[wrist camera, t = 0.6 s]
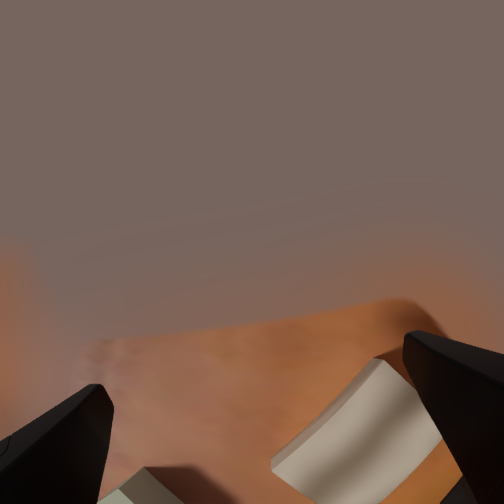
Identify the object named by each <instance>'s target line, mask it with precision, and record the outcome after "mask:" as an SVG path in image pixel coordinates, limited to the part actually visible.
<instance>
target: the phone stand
mask: <svg viewBox="0 0 504 504" xmlns="http://www.w3.org/2000/svg"><path fill="white" fill-rule="evenodd" d="M440 504H478V503H477V501H476V499H475V497H474V495H473V493H472V491H471V489H470V487H469V485H468V483H467V481H466V480H465V478H464V476H462V477H461V478H460V480H459V481H458V482H457V483H456V485H455V486H454V487H453V488H452V489H451V491H450V492H449V493H448V494H447V495H446V496H445V497H444V499H443V500H442V501H441V502H440Z"/></svg>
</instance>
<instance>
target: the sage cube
mask: <svg viewBox="0 0 504 504" xmlns="http://www.w3.org/2000/svg"><path fill="white" fill-rule="evenodd" d="M97 504H184V503H183V502H182V501H181V500H180V499H178V498H177V497H176V496H175V495H174V494H173V493H171V492H170V491H169V490H168V489H167V488H166V487H165V486H163V485H162V484H161V483H160V482H159V481H158V480H157V479H156V478H155V477H154V476H153V475H152V474H151V473H150V472H148V471H147V470H146V469H145V468H144V467H143V468H141V469H140V470H139V471H137V472H136V473H135V474H133V475H132V476H130V477H129V478H128V479H126V480H125V481H124V482H122V483H121V484H119V485H118V486H117V487H115V488H114V489H112V490H111V491H110V492H109V493H107V494H106V495H105V496H104V497H102V498H101V499H100V500H99V501H97Z"/></svg>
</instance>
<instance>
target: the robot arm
mask: <svg viewBox="0 0 504 504" xmlns="http://www.w3.org/2000/svg"><path fill="white" fill-rule="evenodd" d="M402 358H403V363H404V365H405V367H406V370H407V372H408V374H409V376H410V378H411V380H412V382H413V385H414V387H415V389H416V391H417V393H418V396H419V398H420V400H421V402H422V404H423V405H424V407H425V409H426V410H427V412H428V414H429V415H430V417H431V419H432V420H433V422H434V424H435V426H436V427H437V429H438V431H439V432H440V434H441V436H442V438H443V439H444V441H445V443H446V445H447V446H448V448H449V450H450V452H451V454H452V455H453V457H454V459H455V461H456V463H457V465H458V466H459V468H460V470H461V472H462V474H463V476H464V478H465V480H466V481H467V483H468V485H469V487H470V489H471V491H472V493H473V495H474V497H475V499H476V501H477V503H478V504H504V354H501V353H497V352H493V351H490V350H486V349H482V348H479V347H476V346H472V345H469V344H465V343H462V342H458V341H455V340H451V339H448V338H444V337H441V336H437V335H434V334H431V333H427V332H424V331H421V330H414V331H411V332H408V333H406V334H405V336H404V344H403V355H402ZM113 415H114V406H113V403H112V401H111V399H110V397H109V395H108V394H107V392H106V390H105V388H104V386H103V385H101V384H89V385H87V386H86V387H84V388H83V389H81V390H80V391H78V392H77V393H75V394H74V395H72V396H71V397H69V398H67V399H66V400H64V401H63V402H61V403H60V404H58V405H57V406H55V407H54V408H52V409H50V410H49V411H47V412H46V413H44V414H43V415H41V416H40V417H38V418H36V419H35V420H33V421H32V422H30V423H29V424H27V425H26V426H24V427H23V428H21V429H19V430H18V431H16V432H14V433H13V434H12V435H10V436H8V437H6V438H5V439H3V440H2V441H0V504H97V501H98V496H99V491H100V486H101V481H102V477H103V472H104V468H105V463H106V459H107V455H108V450H109V444H110V436H111V428H112V421H113Z"/></svg>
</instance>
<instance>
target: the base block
mask: <svg viewBox="0 0 504 504" xmlns="http://www.w3.org/2000/svg"><path fill="white" fill-rule="evenodd" d="M441 439H442V436H441V434H440V432H439V431H438V429H437V427H436V426H435V424H434V422H433V420H432V419H431V417H430V415H429V414H428V412H427V410H426V409H425V407H424V405H423V404H422V402H421V400H420V398H419V396H418V393H417V391H416V390H415V389H414V388H413V387H412V386H411V385H410V384H409V383H408V382H407V381H406V380H405V379H404V378H403V377H402V376H400V375H399V374H398V373H397V372H396V371H395V370H394V369H393V368H392V367H391V366H390V365H389V364H388V363H387V362H386V361H385V360H382V359H376V358H372V359H371V360H370V362H369V363H368V364H367V365H366V366H365V367H364V368H363V370H362V371H361V372H360V373H359V374H358V375H357V376H356V377H355V379H354V380H353V381H352V382H351V383H350V384H349V385H348V386H347V387H346V388H345V389H344V390H343V391H342V393H341V394H340V395H339V396H338V397H337V398H336V399H335V400H334V401H333V402H332V403H331V404H330V405H329V406H328V407H327V408H326V409H325V410H324V411H323V412H322V413H321V414H320V415H319V416H318V417H317V418H316V419H315V420H314V421H312V422H311V423H310V424H309V425H308V426H307V427H306V428H305V429H304V430H303V431H302V432H301V433H300V434H298V435H297V436H296V437H295V438H294V439H293V440H292V441H291V442H289V443H288V444H287V445H286V446H285V447H284V448H282V449H281V450H280V451H279V452H278V453H276V454H275V455H274V456H273V457H272V458H271V471H272V472H273V473H275V474H276V475H277V476H279V477H280V478H281V479H283V480H284V481H285V482H287V483H288V484H289V485H291V486H292V487H293V488H295V489H296V490H298V491H299V492H301V493H302V494H303V495H305V496H306V497H308V498H309V499H311V500H312V501H314V502H315V503H317V504H379V503H380V502H381V501H382V500H383V499H385V498H386V497H387V496H388V495H389V494H390V493H391V492H392V491H393V490H394V489H395V488H397V487H398V486H399V485H400V484H401V483H402V482H403V481H404V480H405V479H406V478H407V477H408V476H409V475H410V474H411V473H412V472H413V471H414V470H415V469H416V468H417V467H418V465H419V464H420V463H421V462H422V461H423V460H424V459H425V458H426V457H427V456H428V454H429V453H430V452H431V451H432V450H433V449H434V448H435V446H436V445H437V444H438V443H439V442H440V440H441Z"/></svg>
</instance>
